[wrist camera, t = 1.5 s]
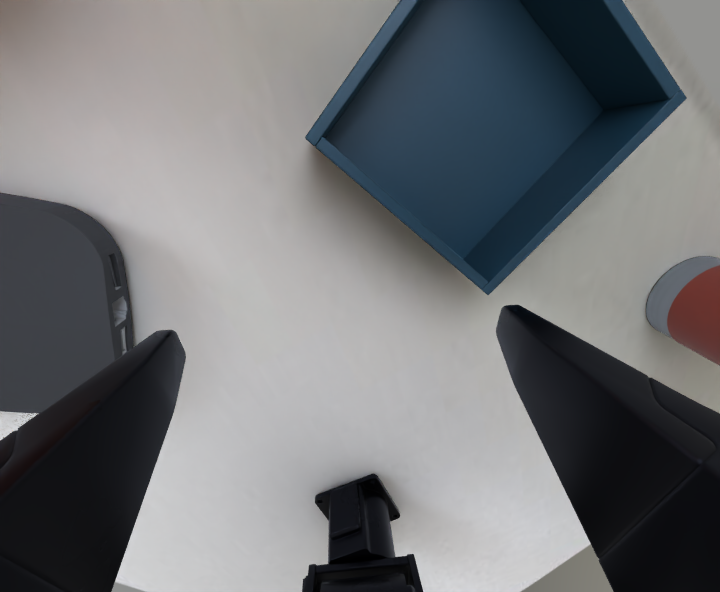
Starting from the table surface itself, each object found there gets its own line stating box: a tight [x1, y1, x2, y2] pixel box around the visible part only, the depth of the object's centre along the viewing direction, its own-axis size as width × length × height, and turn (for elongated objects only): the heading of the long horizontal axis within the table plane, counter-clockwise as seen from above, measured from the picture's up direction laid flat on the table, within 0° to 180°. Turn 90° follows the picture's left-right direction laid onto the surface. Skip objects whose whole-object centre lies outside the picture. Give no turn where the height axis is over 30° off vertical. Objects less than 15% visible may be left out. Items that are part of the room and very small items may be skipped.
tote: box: [305, 0, 686, 295], centre depth 19 cm, size 13×13×5 cm
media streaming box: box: [0, 193, 133, 413], centre depth 22 cm, size 15×15×3 cm
